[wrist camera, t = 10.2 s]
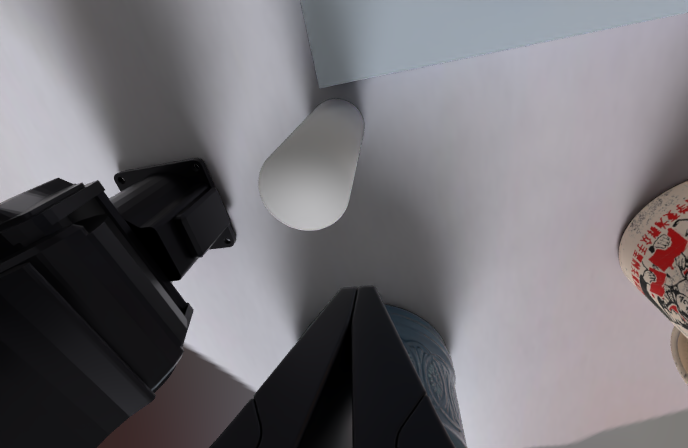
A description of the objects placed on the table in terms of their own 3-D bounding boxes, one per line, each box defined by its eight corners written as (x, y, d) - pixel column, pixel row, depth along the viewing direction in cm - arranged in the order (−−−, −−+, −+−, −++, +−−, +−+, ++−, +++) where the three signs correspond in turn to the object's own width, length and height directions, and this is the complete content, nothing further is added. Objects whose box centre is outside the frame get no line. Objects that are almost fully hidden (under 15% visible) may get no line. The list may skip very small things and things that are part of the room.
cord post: (316, 158, 20) (274, 235, 12) (303, 104, 19) (245, 153, 11) (368, 150, 20) (357, 225, 12) (359, 93, 18) (339, 137, 10)
